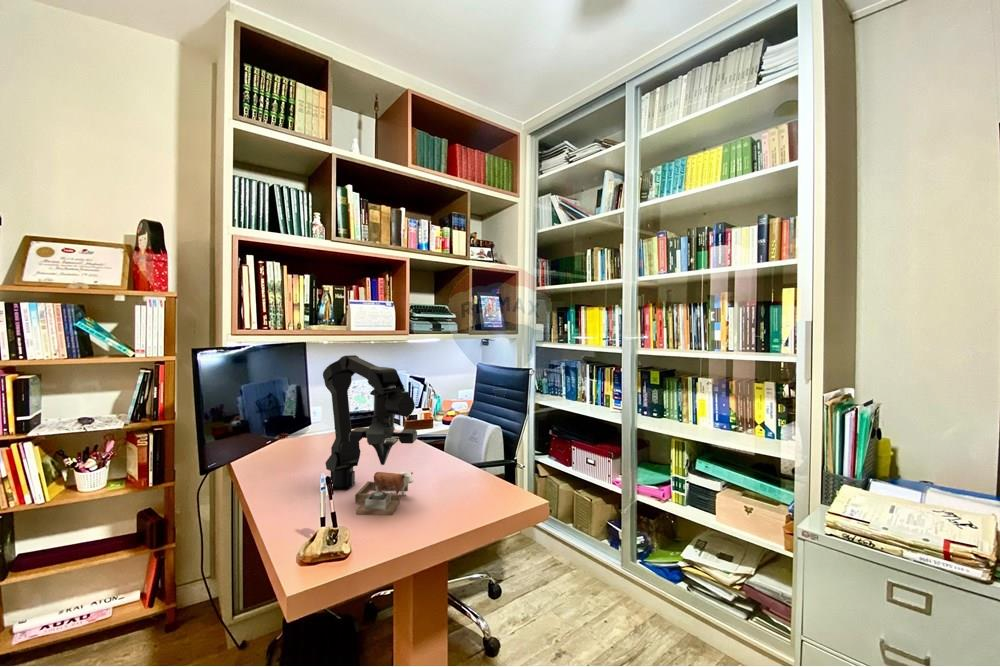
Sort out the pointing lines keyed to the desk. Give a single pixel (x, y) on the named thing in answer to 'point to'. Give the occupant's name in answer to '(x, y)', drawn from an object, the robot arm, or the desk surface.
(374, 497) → the cylinder
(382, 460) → the robot arm
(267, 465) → the desk surface
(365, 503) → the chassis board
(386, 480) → the bull figurine
